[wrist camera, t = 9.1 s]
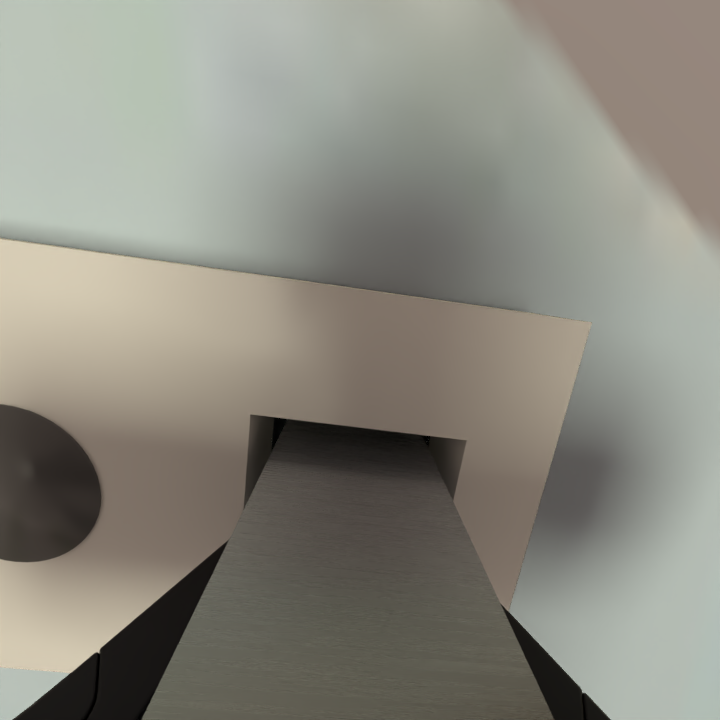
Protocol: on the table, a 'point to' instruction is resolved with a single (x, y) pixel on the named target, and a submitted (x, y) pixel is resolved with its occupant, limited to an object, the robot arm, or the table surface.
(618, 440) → the table surface
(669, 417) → the table surface
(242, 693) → the square peg
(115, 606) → the socket plate
